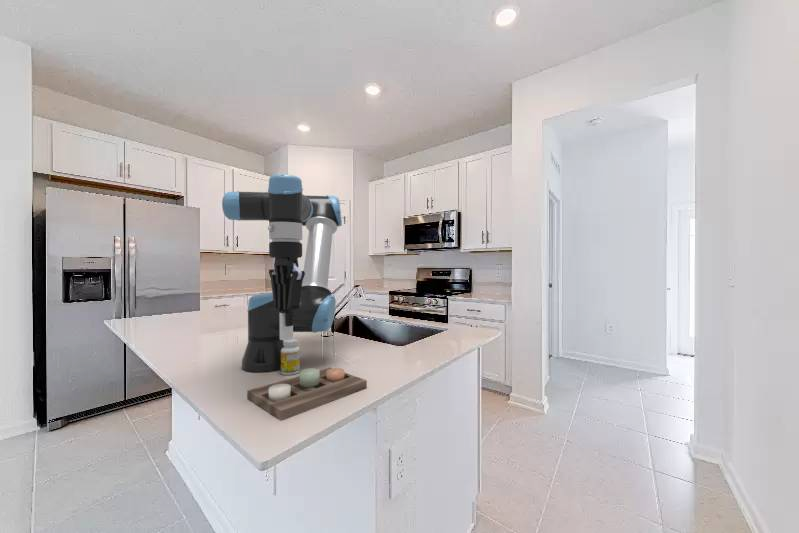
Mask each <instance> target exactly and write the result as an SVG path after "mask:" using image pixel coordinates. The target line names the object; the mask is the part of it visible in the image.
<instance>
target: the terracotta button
mask: <svg viewBox="0 0 799 533" xmlns="http://www.w3.org/2000/svg"><path fill="white" fill-rule="evenodd" d="M331 368H332V367H331ZM345 373H346V372H345V369H344V368H340V367H333V368H332V369H329V370H327V371H326V380H327V381H330V382H332V383H334V382H337V381H340V380H343V379H345Z"/></svg>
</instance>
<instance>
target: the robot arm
mask: <svg viewBox="0 0 799 533" xmlns="http://www.w3.org/2000/svg"><path fill="white" fill-rule="evenodd" d="M302 183H303V181H302V179H301V178H300V177H298V176H296V175H292V174H283V173H279V174H278V173H277V174H273V175H271V176H270V177H269V179H268V188H267V191H265V192H264V191H263V192H262V191H239V190H236V191H227V192H225V193H224V195H223V197H222V200H221V204H222V205H221V207H222V212H223V214H224V216H225V218H227V219H228V220H231V221H268V226H267V231H268V232H269V233H268V236H269V237H268V238H269V240H271V241H270V242H269V244H268V256H269V257H270V258H271V259H272V258H274V264H273V269H269V270H268V275H269V278H270V282H271V283H270V284H271V285H270V286H271V292H267V293H260V294H256V295H252V296H250V298H249V299H248V303H247V304H248V307H247V308H248V309H247V344H246V347H245V350H244V354H243V356H242V359H241V369H242V370H244V371H246V372H250V373H251V372H253V373H263V372H264V373H267V372H273V371H278V370H281V349H282V348H283V347H284V346H283V341H284V340H288V339H294V333H319V332H320V333H322V332H327V331H329V330H330V329H331V327H332V325H333V321H334V318H335V313H336V298H335V296H334V295H332V291H331V289H329V288H328V284H329V275H330V264H331V253H332V244H333V243H332V242H333V234H335V233H336V232H337V230H338V228H339V227H342V225H343V224H342V223H343V221H342V212H341V204H340V199H339V197H337V196H335V195H305V194H303V190H304V189H303V184H302ZM303 227H306V229H307V230H308V236H307V244H306V250H305V251H306V252H305V258H304V264H303V270H300V268H299V261H298V258H299V259H301V258H302V257H303V243H302V242H301V241H302V240H303Z"/></svg>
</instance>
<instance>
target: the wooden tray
mask: <svg viewBox="0 0 799 533" xmlns="http://www.w3.org/2000/svg"><path fill="white" fill-rule="evenodd" d="M329 369H332V367H326V368H322V369H319V370H320V383H319V384H318V385H316V386H312V387H303V386H300V375H298V376H295V377H292V378H291V377H290V378H287V379H283V380H281V381H277V382H274V383H270V384H266V385H263V386H259V387H256V388H252V389H249V390H247V391H246V393H247V394H246V396H247V397H246V399H247V400H248V401H250V402H251V403H253V404H254V405H255V406H257V407H259V408H261V409H262V410H264V411H266V412H267V413H269V414H270V415H272V416H273V417H275V418H276V419H278V420H279V421H284V420H286V419H288V418H291V417H294V416H296V415H300V414H302V413H304V412H308V411H309V410H312V409H316V408H317V407H320V406H322V405H326V404H329V403H331V402H333V401H337V400H339V399H341V398H344V397H347V396H349V395H352V394H354V393H358V392H360V391H363V390H365V389H367V388H368V387H367V386H368V384H367V382H368V381H367V379H364V378H361V377H358V376H355V375H353V374H350V373H348V372H345V379H343V380H340V381H337V382H334V383H332V382H330V381H327V380H326V371H327V370H329ZM276 384H289V385H290V386H291V397H289V398H286V399H283V400H280V401H277V402H272V401H270V400H269V387H271V386H273V385H276ZM312 388H313V389H312ZM308 389H311V390H308ZM305 390H308V391H305Z"/></svg>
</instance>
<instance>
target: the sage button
mask: <svg viewBox="0 0 799 533" xmlns="http://www.w3.org/2000/svg"><path fill="white" fill-rule="evenodd" d="M320 370H321V369H318V368H315V367H313V368H312V367H311V368H304V369H302V370H300V371H299V376H300V386H303V387H311V388H313V387H312V386H316V385H318V384H319V383H320Z"/></svg>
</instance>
